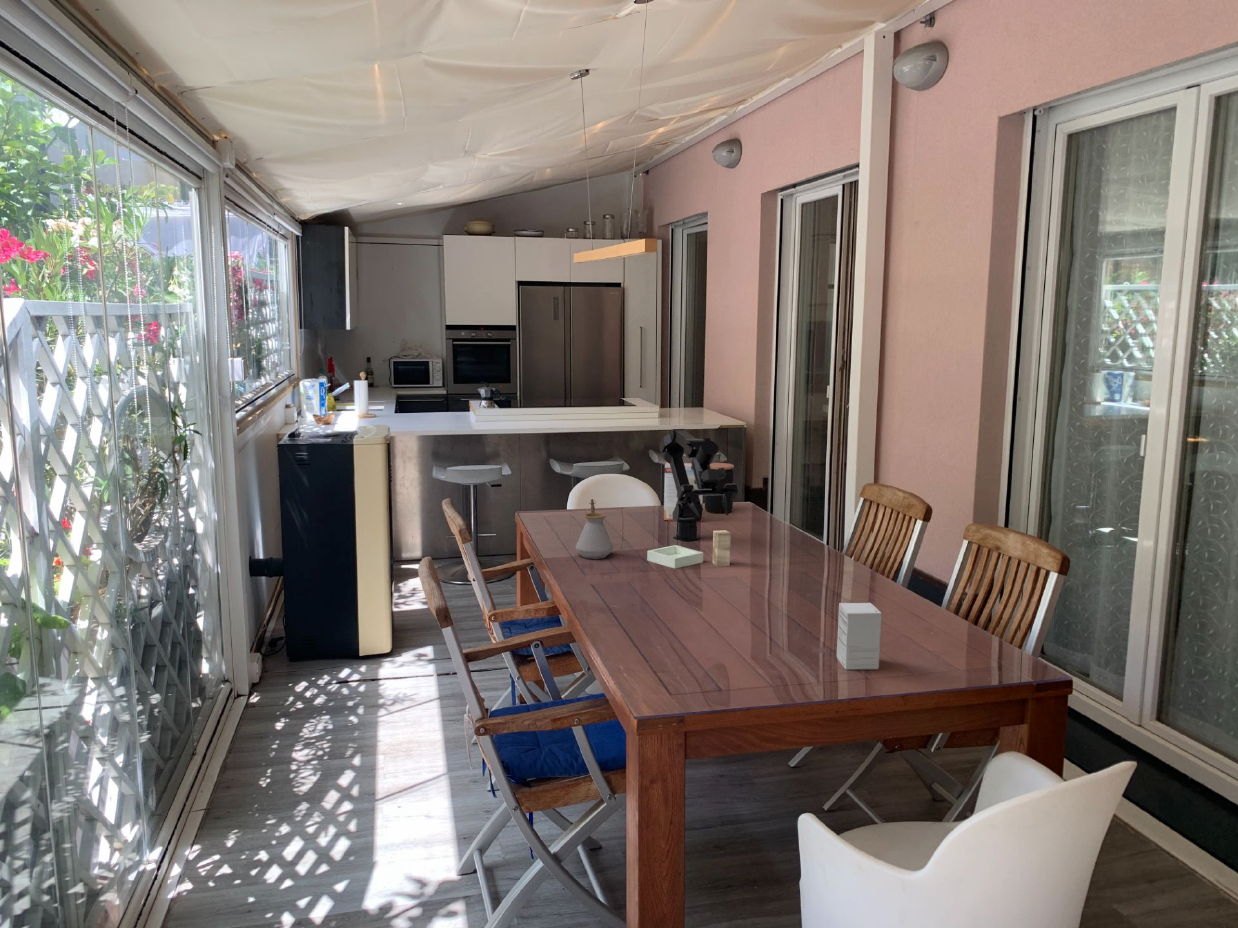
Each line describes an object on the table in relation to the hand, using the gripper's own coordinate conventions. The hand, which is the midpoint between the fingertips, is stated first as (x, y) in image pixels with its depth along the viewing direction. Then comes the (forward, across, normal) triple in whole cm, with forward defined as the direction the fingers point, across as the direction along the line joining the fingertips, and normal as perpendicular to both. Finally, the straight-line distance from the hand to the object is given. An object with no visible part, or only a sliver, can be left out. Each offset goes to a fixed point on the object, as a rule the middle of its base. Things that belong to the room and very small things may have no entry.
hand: (713, 515), depth 288 cm
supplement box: (+74, 0, -56) cm, 93 cm away
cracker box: (-28, +8, +48) cm, 56 cm away
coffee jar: (-37, +27, +57) cm, 73 cm away
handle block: (+15, 0, +3) cm, 16 cm away
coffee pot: (0, -34, +20) cm, 40 cm away
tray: (+11, -12, +8) cm, 18 cm away
